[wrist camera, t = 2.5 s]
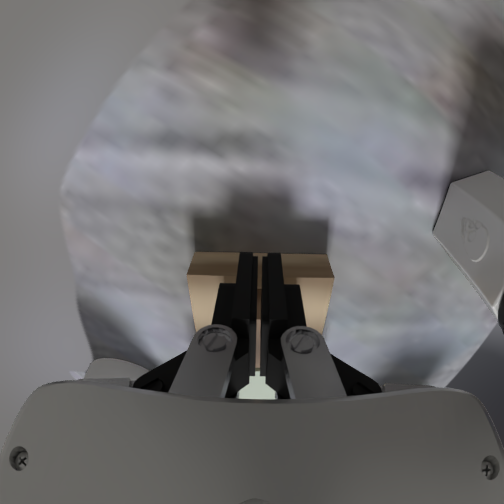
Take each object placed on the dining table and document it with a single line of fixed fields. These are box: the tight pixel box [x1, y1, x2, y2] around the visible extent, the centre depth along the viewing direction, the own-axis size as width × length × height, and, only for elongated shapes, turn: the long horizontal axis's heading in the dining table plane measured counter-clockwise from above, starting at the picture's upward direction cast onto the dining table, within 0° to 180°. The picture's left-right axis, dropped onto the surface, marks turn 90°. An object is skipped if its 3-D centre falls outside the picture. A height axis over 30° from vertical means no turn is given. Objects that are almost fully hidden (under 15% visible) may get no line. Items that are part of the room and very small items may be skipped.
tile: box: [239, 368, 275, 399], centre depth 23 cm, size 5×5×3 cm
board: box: [187, 252, 334, 335], centre depth 24 cm, size 12×10×3 cm
